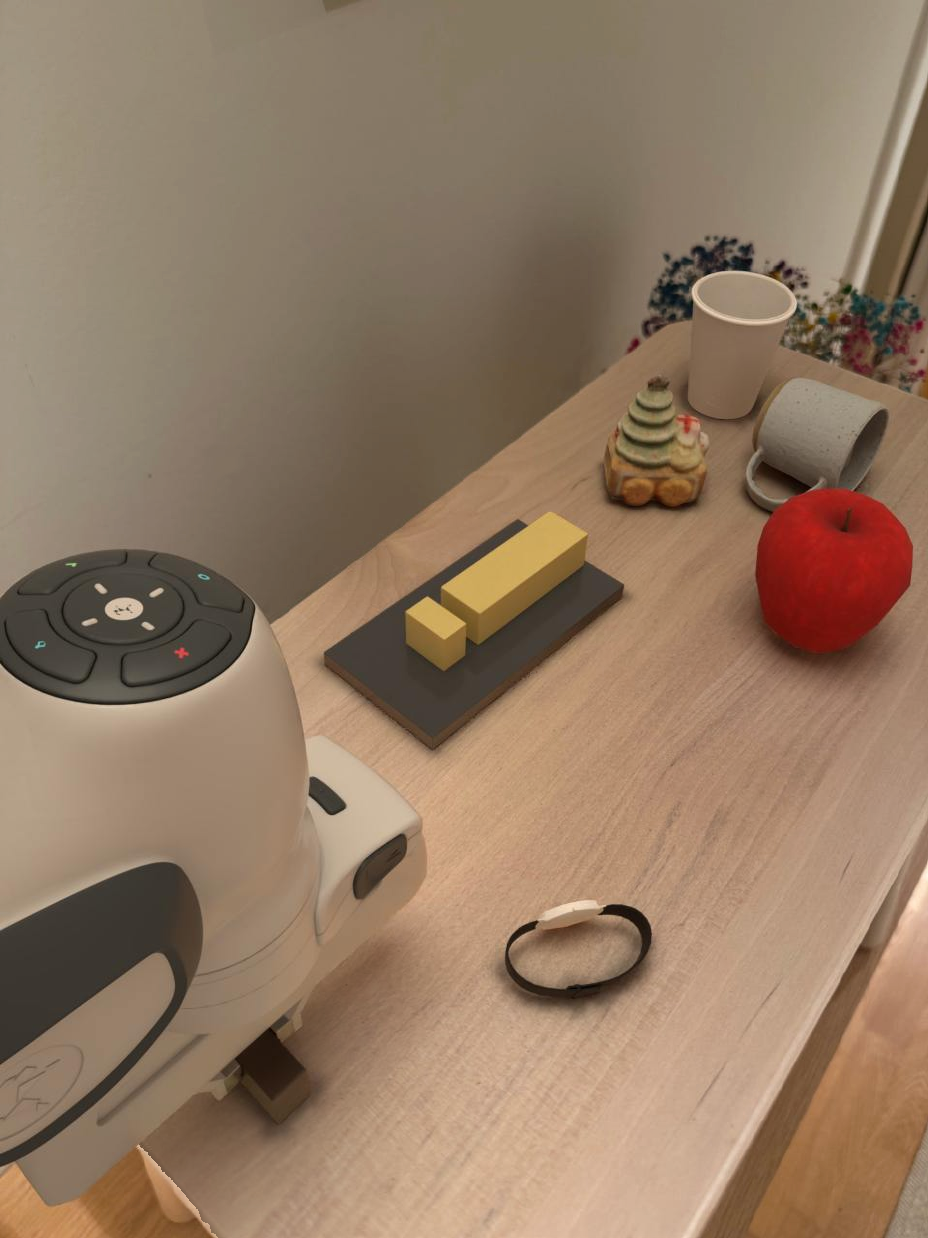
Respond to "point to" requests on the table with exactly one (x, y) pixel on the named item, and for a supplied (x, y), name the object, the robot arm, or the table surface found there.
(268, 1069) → the dark brown boxy part
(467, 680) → the butter dish
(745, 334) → the dixie cup
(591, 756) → the table surface
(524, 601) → the butter block
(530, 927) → the watch
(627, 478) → the ornament
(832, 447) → the ceramic mug
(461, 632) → the butter pat
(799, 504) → the apple
